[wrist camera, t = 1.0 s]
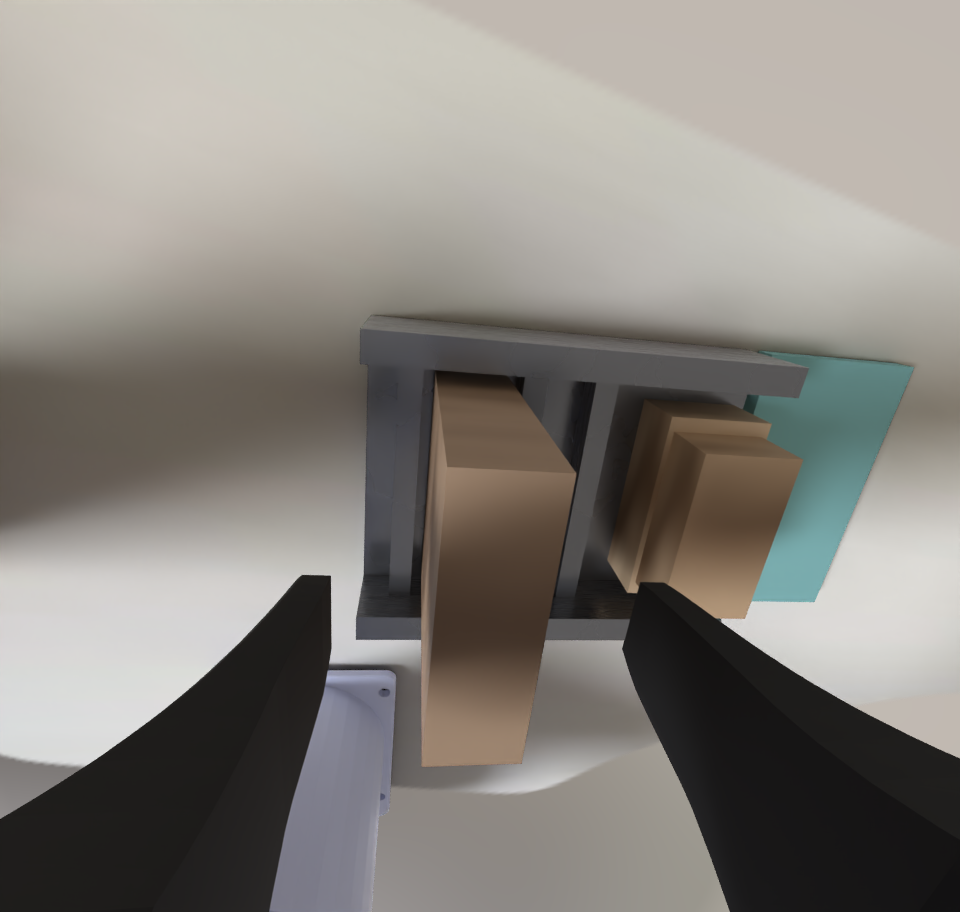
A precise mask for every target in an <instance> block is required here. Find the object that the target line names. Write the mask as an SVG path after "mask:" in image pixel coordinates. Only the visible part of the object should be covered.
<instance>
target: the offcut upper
mask: <svg viewBox="0 0 960 912" xmlns="http://www.w3.org/2000/svg"><path fill="white" fill-rule="evenodd" d="M802 462H803V459H801V458H799V457H797V456H796V455H794V454H792V453H790V452H788V451H786V450H785V449H783V448H781V447H779V446H777V445H775V444H773V443H772V442H770V441H768V440H766V439H764V438H762V437H750V436H734V435H719V434H704V433H688V432H674V435H673V439H672V442H671V446H670V450H669V454H668V458H667V462H666V466H665V469H664V473H663V477H662V481H661V485H660V489H659V492H658V496H657V500H656V504H655V508H654V512H653V516H652V519H651V523H650V527H649V531H648V535H647V539H646V542H645V546H644V550H643V554H642V558H641V562H640V566H639V569H638V573H637V577H636V581H635V582H636V584H637V585H638V587H639V584H640V582H664V583H666V584H667V585H669V586H671V587H672V588H674V589H675V590H677V591H678V592H680V593H681V594H683V595H684V596H685V597H687V598H688V599H690V600H691V601H692V602H694V603H695V604H697V605H698V606H699V607H701V608H702V609H703V610H705V611H706V612H708V613H709V614H710V615H712V616H713V617H714V618H728V619H745V617H746V614H747V611H748V609H749V606H750V603H751V601H752V598H753V595H754V593H755V590H756V587H757V584H758V582H759V579H760V576H761V574H762V571H763V568H764V565H765V563H766V560H767V557H768V555H769V552H770V549H771V546H772V544H773V541H774V538H775V536H776V533H777V530H778V527H779V525H780V522H781V519H782V517H783V514H784V511H785V508H786V506H787V503H788V500H789V498H790V495H791V492H792V489H793V487H794V484H795V481H796V479H797V476H798V473H799V470H800V468H801V465H802Z"/></svg>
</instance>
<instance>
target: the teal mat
mask: <svg viewBox="0 0 960 912" xmlns="http://www.w3.org/2000/svg"><path fill="white" fill-rule="evenodd" d="M758 353H760V354H764V355H767V356H770V357H774V358H777V359H781V360H784V361H787V362H791V363H794V364H797V365H801V366H804V367H808V368H809V370H808V373H807V376H806V379H805V382H804V385H803V387H802V390H801V393H800V396H799V398H788V397H775V396H762V395H749V394H747V397H746V401H745V404H744V407H743V410H745V411H747V412H749V413H751V414H753V415H755V416H757V417H759V418H761V419H763V420H765V421H767V422H769V423H771V424H772V425H771V428H770V431H769V434H768V437H767V440H768V441H770V442H772V443H773V444H775V445H777V446H779V447H781V448H783V449H785V450H786V451H788V452H790V453H792V454H794V455H796V456H797V457H799V458H801V459H803V462H802V465H801V468H800V470H799V473H798V476H797V479H796V481H795V484H794V487H793V489H792V492H791V495H790V498H789V500H788V503H787V506H786V508H785V511H784V514H783V517H782V519H781V522H780V525H779V527H778V530H777V533H776V536H775V538H774V541H773V544H772V546H771V549H770V552H769V555H768V557H767V560H766V563H765V565H764V568H763V571H762V574H761V576H760V579H759V582H758V584H757V587H756V590H755V593H754V595H753V598H752V601H777V602H815V599H816V597H817V595H818V592H819V590H820V588H821V585H822V583H823V581H824V578H825V576H826V574H827V571H828V569H829V567H830V564H831V562H832V559H833V557H834V555H835V552H836V550H837V548H838V545H839V543H840V541H841V538H842V536H843V534H844V531H845V529H846V527H847V524H848V522H849V520H850V517H851V515H852V512H853V510H854V508H855V505H856V503H857V501H858V498H859V496H860V494H861V491H862V489H863V487H864V484H865V482H866V480H867V477H868V475H869V473H870V470H871V468H872V466H873V463H874V461H875V458H876V456H877V454H878V451H879V449H880V447H881V444H882V442H883V440H884V437H885V435H886V433H887V430H888V428H889V426H890V423H891V421H892V419H893V416H894V414H895V412H896V409H897V407H898V404H899V402H900V400H901V397H902V395H903V393H904V390H905V388H906V386H907V383H908V381H909V379H910V376H911V374H912V372H913V369H914V367H910V366H906V365H902V364H897V363H888V362H877V361H867V360H856V359H845V358H834V357H823V356H812V355H801V354H790V353H779V352H769V351H759V352H758Z"/></svg>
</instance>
